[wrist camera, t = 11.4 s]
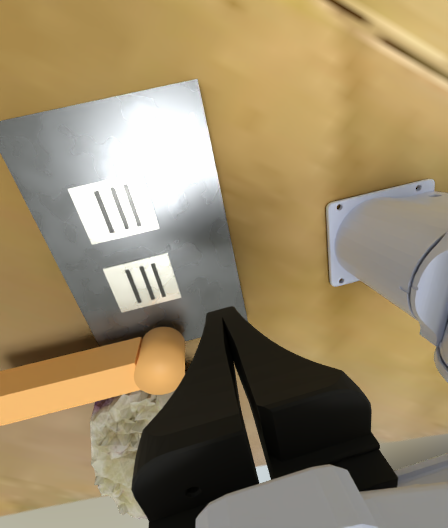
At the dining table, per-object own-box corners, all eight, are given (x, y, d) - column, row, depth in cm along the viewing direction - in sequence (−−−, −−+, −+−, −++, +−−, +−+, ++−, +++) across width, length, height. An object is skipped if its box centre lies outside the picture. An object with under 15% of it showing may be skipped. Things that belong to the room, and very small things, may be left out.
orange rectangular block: (178, 322, 21) (177, 351, 18) (189, 355, 23) (190, 387, 20) (-24, 371, 21) (-63, 410, 17) (0, 402, 22) (-31, 444, 19)
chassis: (196, 85, 17) (198, 75, 15) (244, 315, 25) (250, 329, 23) (2, 126, 17) (-23, 122, 15) (111, 350, 24) (104, 367, 22)
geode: (175, 313, 30) (82, 405, 30) (154, 335, 21) (18, 470, 20) (279, 417, 30) (186, 510, 30) (304, 487, 21) (169, 623, 20)
